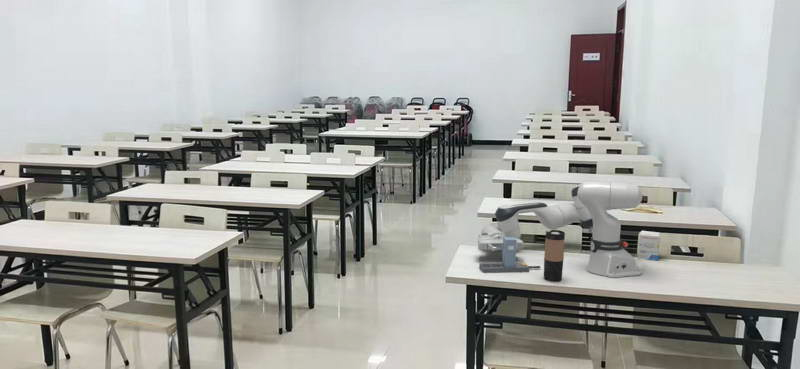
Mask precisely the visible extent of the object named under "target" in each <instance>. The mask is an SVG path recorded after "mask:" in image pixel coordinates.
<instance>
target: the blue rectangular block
mask: <svg viewBox="0 0 800 369" xmlns="http://www.w3.org/2000/svg"><path fill="white" fill-rule="evenodd" d="M516 244H517V240H516V239H515V238H514V237H503V250H502V255H501V256H502V257H501V258H502V259H501V263H502V266H503V267H515V264H516V263H517V260H516V259H517V251H516Z"/></svg>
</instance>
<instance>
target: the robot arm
mask: <svg viewBox="0 0 800 369" xmlns="http://www.w3.org/2000/svg"><path fill="white" fill-rule="evenodd" d="M642 192H643V191H642V190H641V188H640V186H639V185H637V184H632V183H628V182H620V181H619V182H618V181H617V182H616V181H603V180H602V181H601V180H590V181H584V182H582V183H580V184H577V185H575V186H574V187H573V188H572V189H571V198H573V202H565V203H560V204H556V205H548V204H547V203H545V202H531V203H530V202H528V203H521V204H519V203H518V204H504V205H499V207H497V209H496V211H495V213H494V215H495V219H496V221H497V226H495V225H493V224H486V225H484V226H483V228H482V229H481V233H480V234H478V238H477V239H478V240H477V248H478V250H479V251H492V252H499V251H503V237H514V238H515V239H516V240H517V244H516V252H517V251H518V250H523V249H524V241H523V240H522V239H521V237H522V234H521V229H520V225H519V224H520V223H519V218H518V216H519V215H520V214H525V213H526V214H528V213H534V215H535V216H536V217H537V219H538V221H539V222H540V224H541V225H542V226H543V227H545V228H547V229H548V230H558V229H561V228H564V227H567V226H569V225H571V224H573V223H575V222H577V221H579V223H578V225H579V226H582V227H583V228H585V229H588V230H589V229H590V230H592V236H591V238H590V254H589V258H588V259H589V260H588V262H587V265H586V268H585V269H586V270H587V271H588V272H590V273H591V274H596V275H600V276H605V277H609V278H623V277H624V278H625V277H632V276H633V277H634V276H641V275H642V270H641V269H640V268H638V267H637V262H636V259H635V257H634V256H633V255H631V254H630V253H629V252H628V251H627V250H626V249H624V247H625V248H627V247H629V243H628V242H626V241H623V240H621V229H622V228H621V225H622V224H621V221H620V220H619V219H618V218H617V217H616V216H613V215H612V214H610V213H609V212H608V211H611V210H625V209H636V208H637V207H638V206H639V205H640V204H641V203H642V200H643V193H642Z"/></svg>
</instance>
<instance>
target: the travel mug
mask: <svg viewBox="0 0 800 369" xmlns="http://www.w3.org/2000/svg"><path fill="white" fill-rule="evenodd" d="M565 236H566V233H565V231H563V230H558V229H550V230H548V231H547V230H546V231H545V244H544V256H543V279H544V280H545V281H548V282H551V283H557V282H561V281H562V277H563V268H564V260H565V259H564V257H565V238H566V237H565Z"/></svg>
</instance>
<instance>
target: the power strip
mask: <svg viewBox="0 0 800 369" xmlns="http://www.w3.org/2000/svg"><path fill="white" fill-rule="evenodd" d="M478 266H479V267H478V268H479V269H480V271H481V273H482V274H487V273H489V274H490V273H491V274H492V273H493V274H495V273H498V274H499V273H502V274H503V273H529V271H530V269H541V266H540V265H527V263H526V262H525V261H524V262H523V261H522V262H516V264H515V267H503V266H502V262H485V263H483V262H482V263H481V262H480V263H479V265H478Z"/></svg>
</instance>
